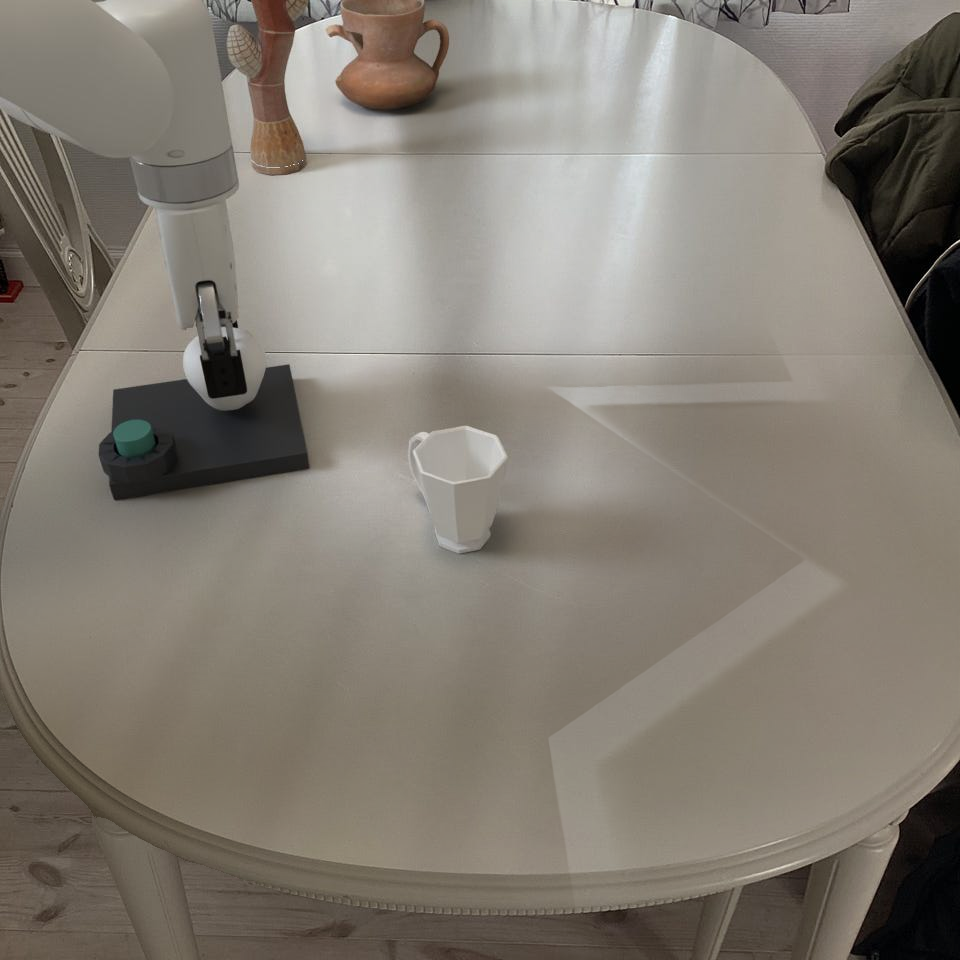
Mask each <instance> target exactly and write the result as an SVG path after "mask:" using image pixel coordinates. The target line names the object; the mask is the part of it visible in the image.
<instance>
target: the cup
mask: <svg viewBox="0 0 960 960" xmlns="http://www.w3.org/2000/svg"><path fill="white" fill-rule="evenodd" d="M508 458H509V456H508V454H507V452H506V450H505V448H504V446H503V443H502V442H501V439H500V438H499V436H498V435H497V434H494V433H490V432H488V431H485V430H483V429H482V430H481V429H478V428H475V427H472V426H469V425H460V426H456V427H449V428H444V429H439V430H433V431H431V432H430V433H428V432H426V431H421V432H418V433H416V434H414V435H413V436H412V437H411V438H410V439H409V442H408V449H407V460H408V465H409V468H410V472H411V475H412V477H413V479H414V481H415V483H416V486H417V487H418V489H419V491H420V493H421V494H422V496H423V497H424V501H425V504H426V507H427V510H428V512H429V514H430V517H431V521H432V522H433V525H434V535H435V537H436V540H437V542H438V545H439V547H440V548H442V549H446V550H448V551H450V552H453V553H455V554H458V555H461V554H465V553H469V552H475V551H480V550H481V549H482V548H483V547H484V545H485V544H486V543H487V542H488V541H489V539H490V538H491V537H492V536H491V535H492V533H491V531H490V528H491V527H492V526H493V522H494V520H495V517H496V514H497V512H498V509H499V505H500V499H501V494H502V489H503V485H504V484H503V483H504V479H505V474H506V469H507V464H508Z"/></svg>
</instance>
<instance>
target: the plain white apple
mask: <svg viewBox="0 0 960 960" xmlns="http://www.w3.org/2000/svg"><path fill="white" fill-rule="evenodd" d="M221 330H222V334H223V337H225V336H226V338H227V332H226V327H221ZM233 332H234V338H235V344H236V350H240V353H241V358H242V364H243V369H244V374H245V380H246V385H247V392H246V393H245V394H242V395H235V396H229V397H222V398H215V399H212V398H209V396H208V393H207V388H206V383H205V379H204V374H203V370H202V365H201V361H200V355H202V354H201V348H200V343H199V337H198V334H197V335H195V337H194V338H193V339H192V340H191V341H190V342H189V343H188V345H187V346H186V347H185V349H184V352H183V356H182V367H183V368H182V369H183V373H184V376H185V377H186V378H185V379H187V380H188V382H189V383H190V385H191V386H192V387H193V388H194V389H195V390H196V392H197V393H198V394H199V395H200V396H201V397H202V398H203V399H204V401H205V402H206V403H208V404H209V405H210V406H212V407H214V408H215V409H218V410H223V411H227V410H236V409H239V408H241V407H243V406H244V405H246V404H247V403H249V402H251V401H252V400H253V399H254V398H255V396H256V394H257V392H258V389H259V387H260V384H261V381H262V379H263V376H264V373H265V369H266V368H267V354H266V352H265V349H264V347H263V345H262V344H261V342H260V341H259V339H258V338H257V337H256V336H255V335H254V334H253V333H252V332H251V331H249V330H247V329H245V328H242V327H241V328H240V327H238V328H233ZM227 340H228V338H227Z"/></svg>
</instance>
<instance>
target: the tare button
mask: <svg viewBox="0 0 960 960" xmlns="http://www.w3.org/2000/svg"><path fill="white" fill-rule="evenodd" d="M113 436H114V439H115V442H116V446H117V449H118V452H119V454H120V455H122V456H124V457H129V458H131V457H138V456H142V455H144V454H146V453H148V452H150V451H152V450H153V449H154V448H155V445H156V443H155V439H154V435H153V431H152V428H151V425H150V424H149V423H148V422H146V421H144V420H130V421H126V422H124V423H122V424H120V425H118V426H117V427H116V428H115V430H114V432H113Z"/></svg>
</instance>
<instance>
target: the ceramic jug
mask: <svg viewBox="0 0 960 960" xmlns="http://www.w3.org/2000/svg"><path fill="white" fill-rule="evenodd" d="M339 6H340V7H339V8H340V9H339V10H340V15H341V19H342V21H343V22H342V25H341V24H338V23H337V24H330V25H329V26H327V27H326V28H325V32H326V34H327V36H328V37H329V38H333V37H340V38H341V39H344V40H346V41H348V42H349V43H351V44H352V46H353V47H354V48H353V49H355V51H356V53H357V56H356V57H355V58H354V59H352V60H351V61H350V62H348V64H346V65H345V67H344V68H343V69H342V70H341V72H340V74H339V75H338V76H337V77H336V79H335V82H334V83H335V85H336V88H337V89H338V90H339V91H340V93H341V94H342V95H343V96H344V97H345V98H346V99H347V100H349V101H350V102H352V103H354V104H355V105H359V106H361V107H364V108H367V109H373V110H396V109H402V108H407V107H410V106H413V105H415V104H418V103H420V102H422V101H423V100H425V99H426V98H428V97H430V95H431V94H432V93H433V92H434V90H435V88H436V84H437V81H438V79H439V75H440V69H441V66H442V65H443V63H444V61H445V58H446V57H447V54H448V51H449V47H450V46H449V45H450V34H449V30H448V27H447V26H446V25H445V24H444V23H443V22H442V21H440V20H437V19H429V20H426V21H424V19H425V12H426V11H425V10H426V0H341V1H340V4H339ZM434 30H435V31H437V33H438V35H439V48H438V51H437V55H436V57H435V60H434V62H433V64H432V66H431V65H430V64H429V63H428V62H427V61H425V60H423V59H422V58H421V57H419V56H418V55H417V54H416V53H415V49H416V46H417V43H418V41H419V40H420V38H422V37H423V36H424V35H425V34H426V33H428V32H430V31H434Z"/></svg>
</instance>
